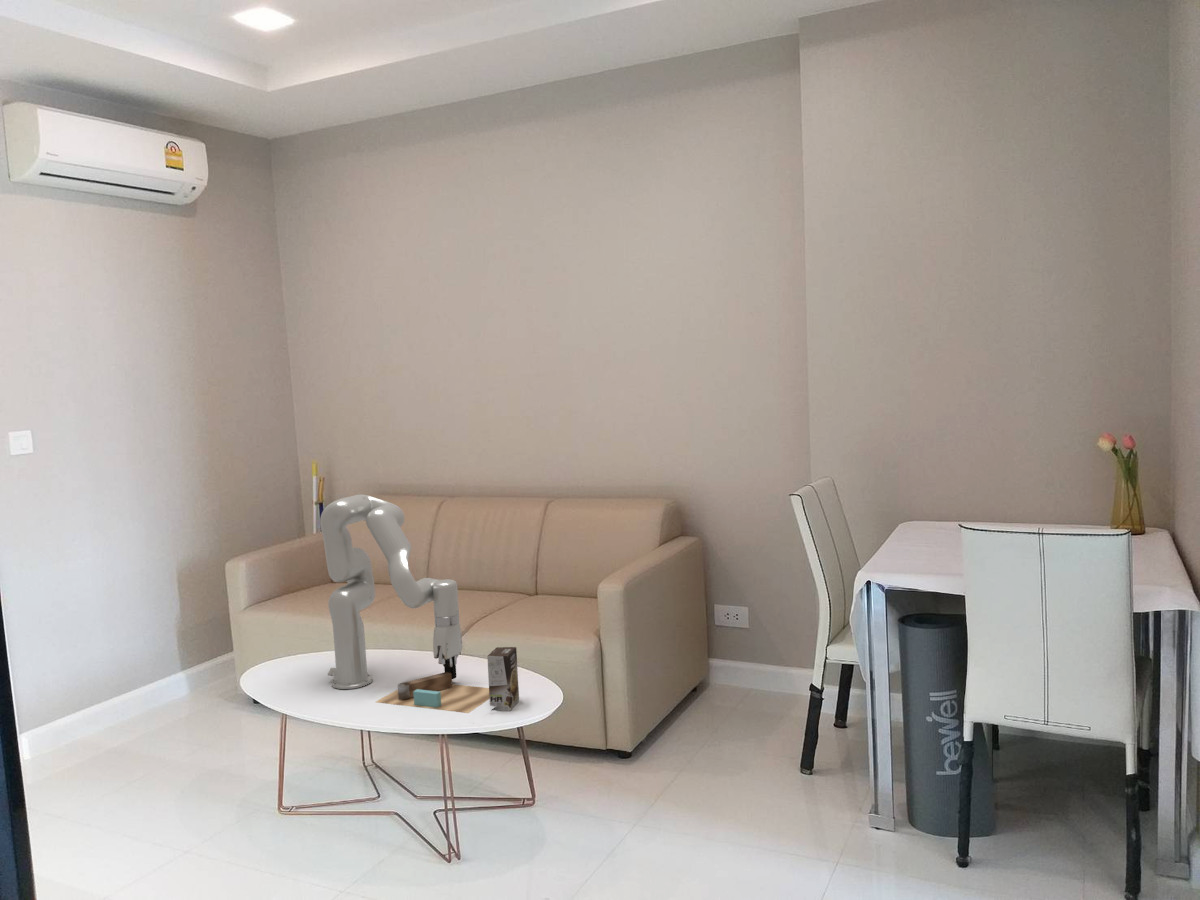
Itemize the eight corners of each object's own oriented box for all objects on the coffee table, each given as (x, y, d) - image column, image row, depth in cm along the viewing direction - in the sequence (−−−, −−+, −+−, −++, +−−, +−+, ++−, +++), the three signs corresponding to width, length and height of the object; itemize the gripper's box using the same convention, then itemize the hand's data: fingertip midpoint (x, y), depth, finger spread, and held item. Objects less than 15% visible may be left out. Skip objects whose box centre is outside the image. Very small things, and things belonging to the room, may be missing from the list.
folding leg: (401, 700, 264) (400, 687, 264) (396, 697, 267) (395, 684, 267) (452, 687, 274) (452, 674, 274) (447, 684, 277) (446, 671, 277)
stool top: (375, 707, 265) (374, 702, 265) (414, 684, 284) (414, 680, 284) (468, 718, 253) (468, 713, 253) (503, 694, 271) (503, 689, 271)
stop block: (414, 704, 261) (413, 691, 261) (418, 702, 263) (417, 689, 263) (437, 707, 258) (436, 694, 258) (441, 705, 260) (440, 691, 260)
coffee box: (511, 711, 257) (507, 655, 255) (489, 710, 258) (486, 655, 257) (520, 700, 266) (517, 646, 264) (499, 699, 267) (496, 646, 266)
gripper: (449, 613, 286) (453, 669, 287) (423, 625, 272) (427, 685, 274) (470, 614, 283) (473, 671, 284) (444, 627, 269) (448, 687, 271)
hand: (450, 678), depth 279 cm, fingers closed
